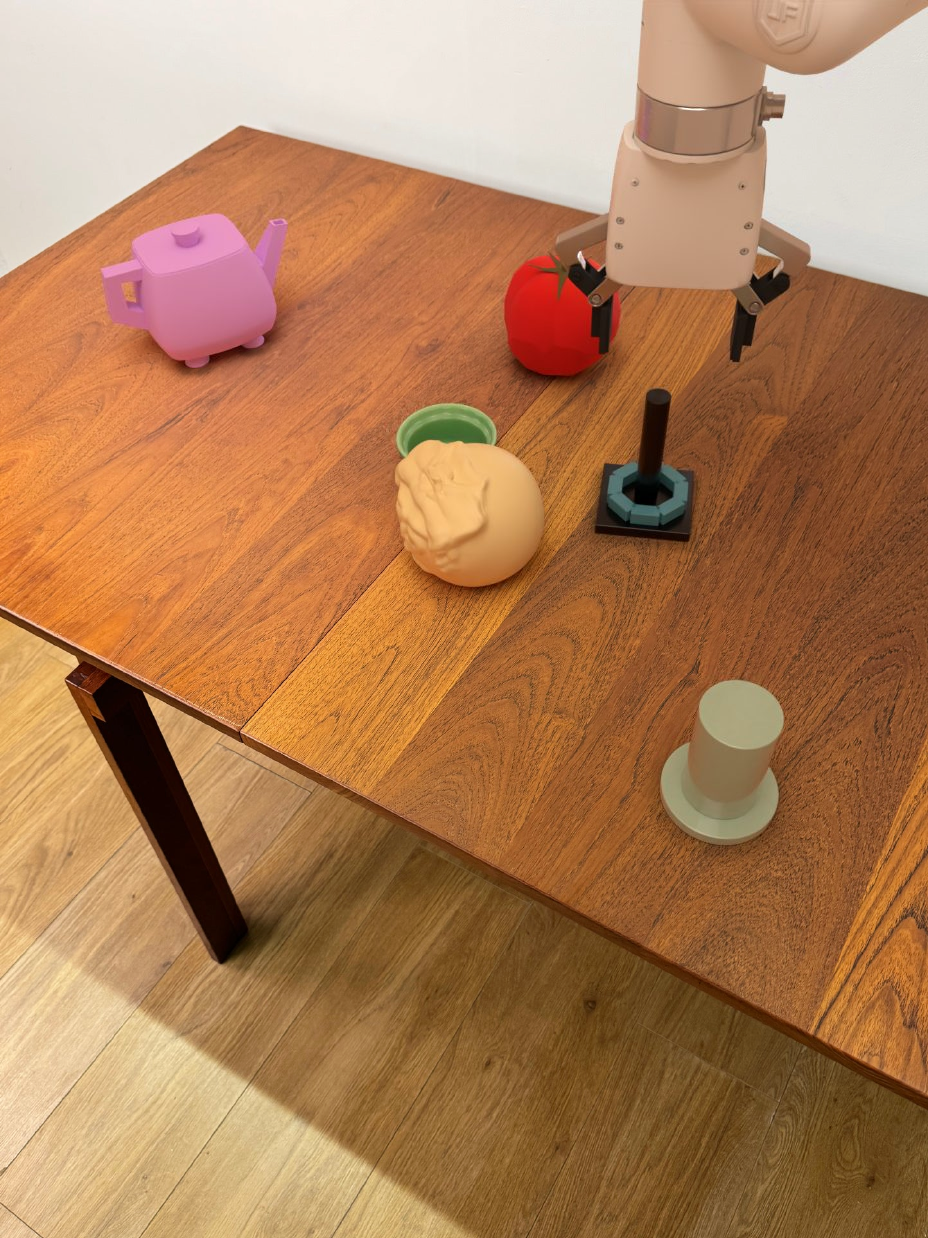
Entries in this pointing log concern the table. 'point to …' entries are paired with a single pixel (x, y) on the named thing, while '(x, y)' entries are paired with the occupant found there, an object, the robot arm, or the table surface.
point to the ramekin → (445, 427)
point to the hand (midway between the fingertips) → (669, 347)
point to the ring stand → (726, 766)
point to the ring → (644, 512)
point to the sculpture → (468, 511)
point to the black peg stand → (647, 479)
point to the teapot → (198, 286)
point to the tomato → (552, 319)
